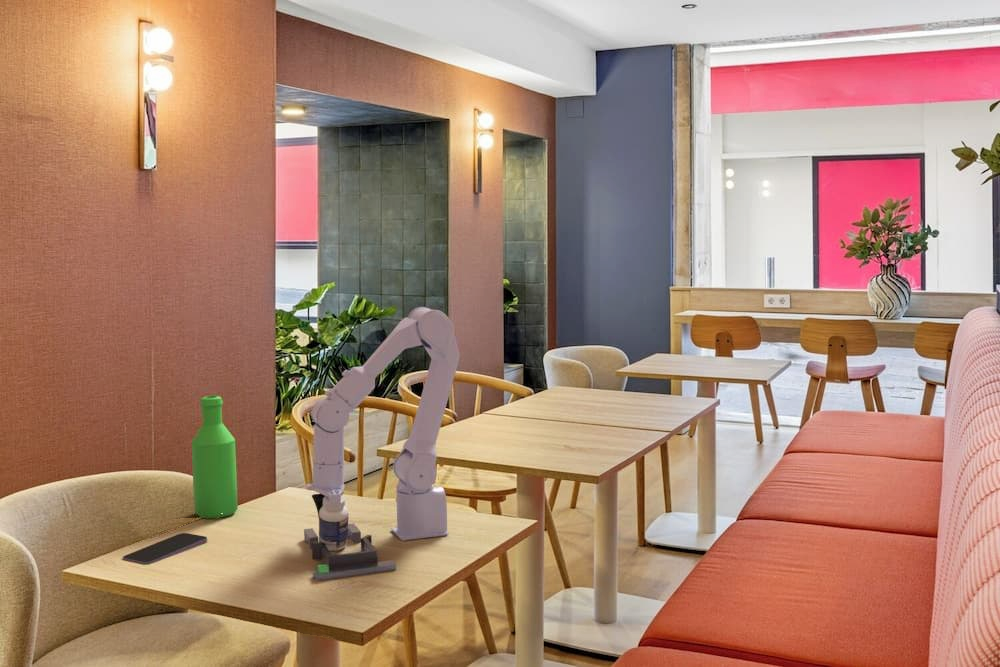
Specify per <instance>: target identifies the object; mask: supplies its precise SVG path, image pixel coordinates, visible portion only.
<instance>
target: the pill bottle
mask: <svg viewBox="0 0 1000 667" xmlns="http://www.w3.org/2000/svg"><path fill="white" fill-rule="evenodd" d="M342 495H343V494H342ZM342 495H341V504H337V505H330V504H329V497H327V496H324V498H323V506H322V507H321V509H320V511H319V517H318V542H322V543H326V547H327V548H328V550H329V551H330V552H331V551H332V552H333V551H334V552H335V551H340V550H342V549H345V548H346V547H347V545H348V542H349V538H348V524H349V509H348V507H347V506H346V505H345V504H346V498H345V496H344V495H343V496H342Z"/></svg>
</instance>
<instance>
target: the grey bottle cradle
mask: <svg viewBox="0 0 1000 667" xmlns="http://www.w3.org/2000/svg"><path fill="white" fill-rule="evenodd" d="M372 542H373V541H372V534H371V535H370V534H367V535H364V536H363V537H361V542H360V551H356V552H355V551H354V552H348V553H341V554H332V553H331V551H330V550H328V548H327V547H326V543H322V542H319V541H318V542H313V543H312V548H311V554H312V555H311V558H312V560H319V561H320V562H321V564H318V565H317V570H313V571H312V573H313V574H312V575H313V579H314V580H315V582H319V581H326V580H334V579H341V578H348V577H354V576H361V575H367V574H376V573H382V572H383V573H384V572H390V571H396V570H397V563H396V562H395V561H394V560H392V559H390V560H384V561H378V549H376V547H374V545H373V543H372Z"/></svg>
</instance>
